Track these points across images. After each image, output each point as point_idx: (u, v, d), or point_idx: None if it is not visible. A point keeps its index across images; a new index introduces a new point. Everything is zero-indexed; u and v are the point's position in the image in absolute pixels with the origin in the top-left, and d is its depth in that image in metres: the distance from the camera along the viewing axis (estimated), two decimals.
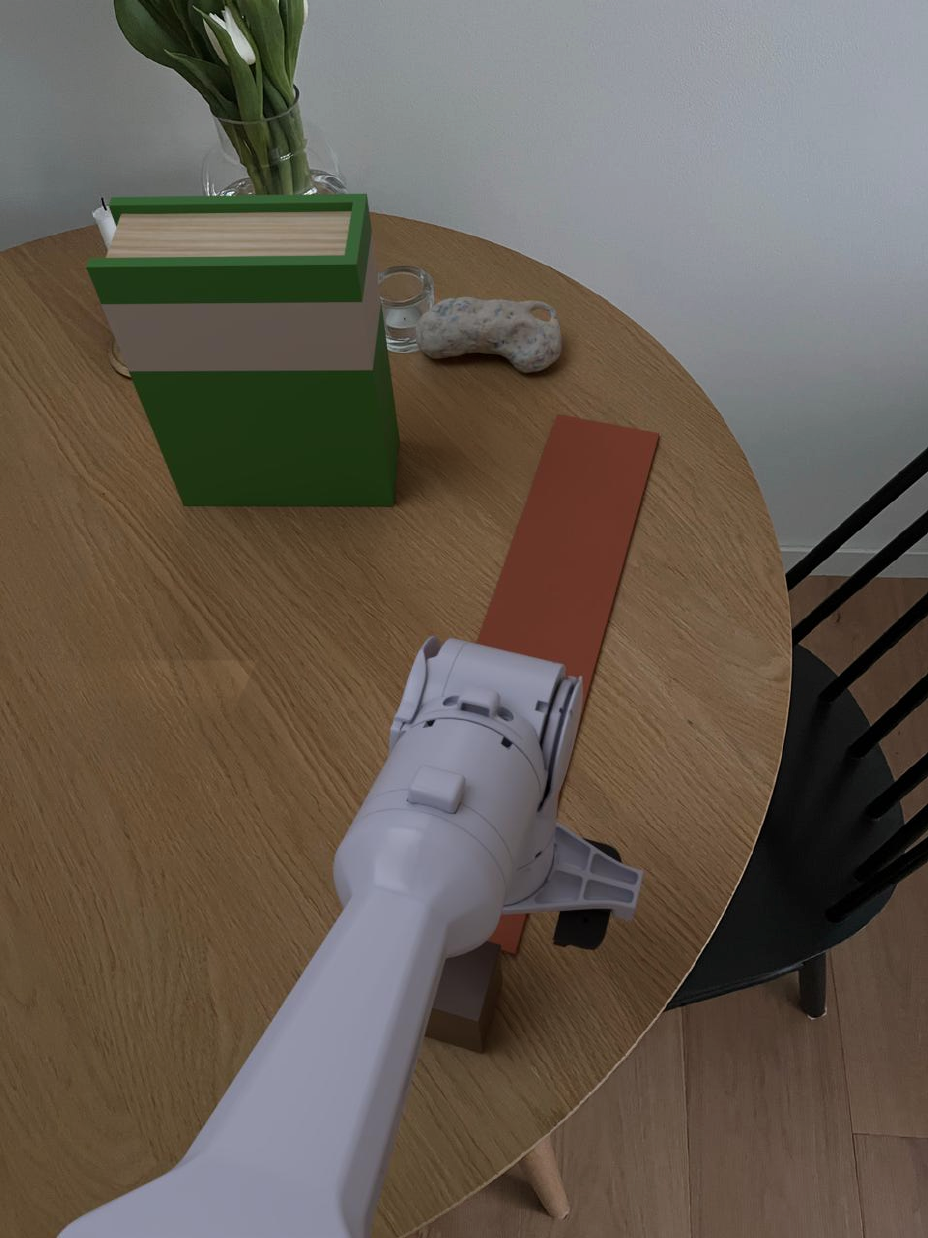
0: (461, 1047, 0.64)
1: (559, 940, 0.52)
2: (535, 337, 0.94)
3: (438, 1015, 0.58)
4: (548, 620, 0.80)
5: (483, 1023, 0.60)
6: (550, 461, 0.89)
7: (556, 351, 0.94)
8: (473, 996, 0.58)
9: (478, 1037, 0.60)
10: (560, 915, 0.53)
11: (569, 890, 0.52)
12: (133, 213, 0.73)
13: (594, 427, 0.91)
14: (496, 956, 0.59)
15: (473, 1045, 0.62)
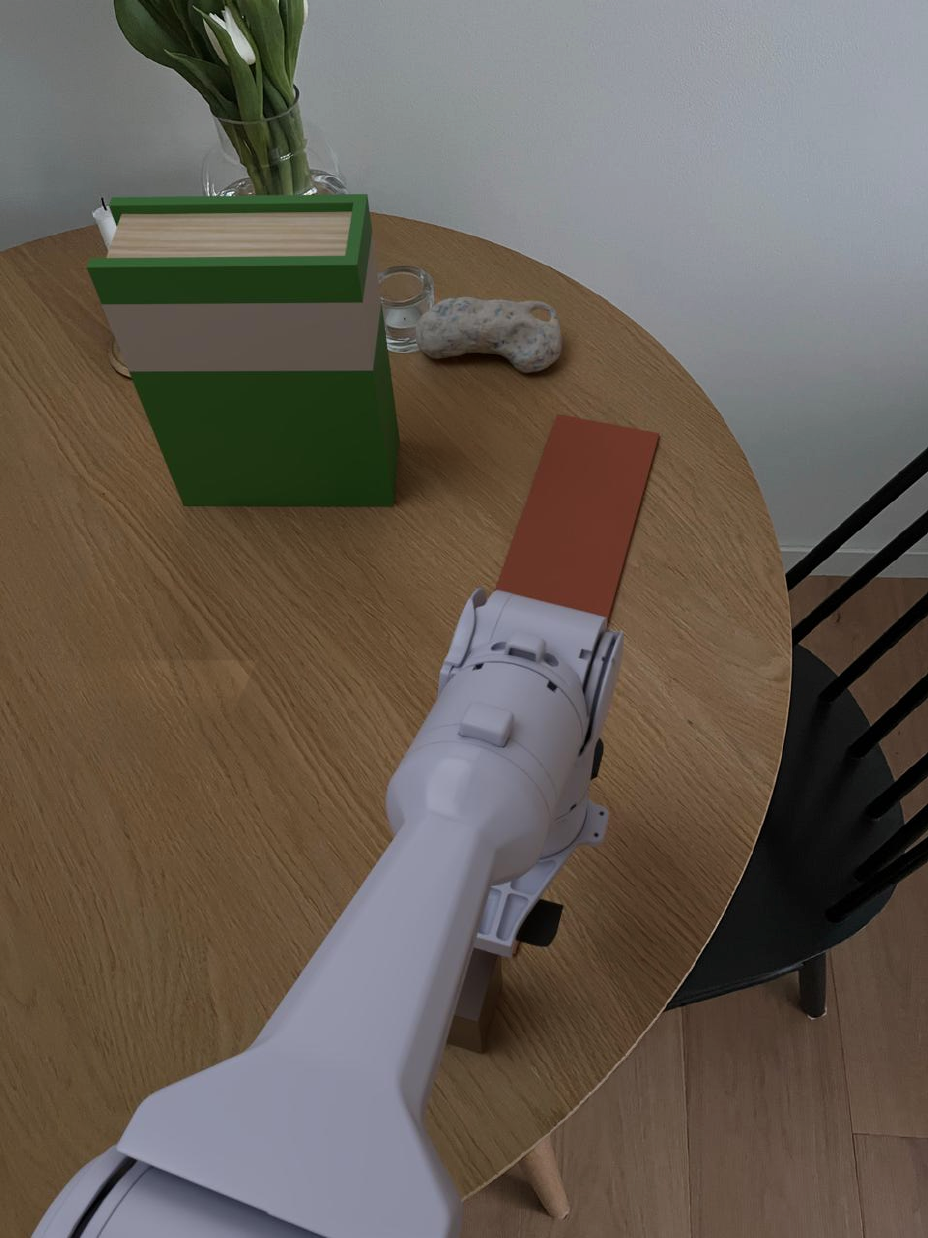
0: (461, 1047, 0.64)
1: None
2: (535, 337, 0.94)
3: None
4: None
5: (483, 1023, 0.60)
6: (550, 461, 0.89)
7: (556, 351, 0.94)
8: (473, 996, 0.58)
9: (478, 1037, 0.60)
10: None
11: None
12: (133, 213, 0.73)
13: (594, 427, 0.91)
14: (496, 956, 0.59)
15: (473, 1045, 0.62)
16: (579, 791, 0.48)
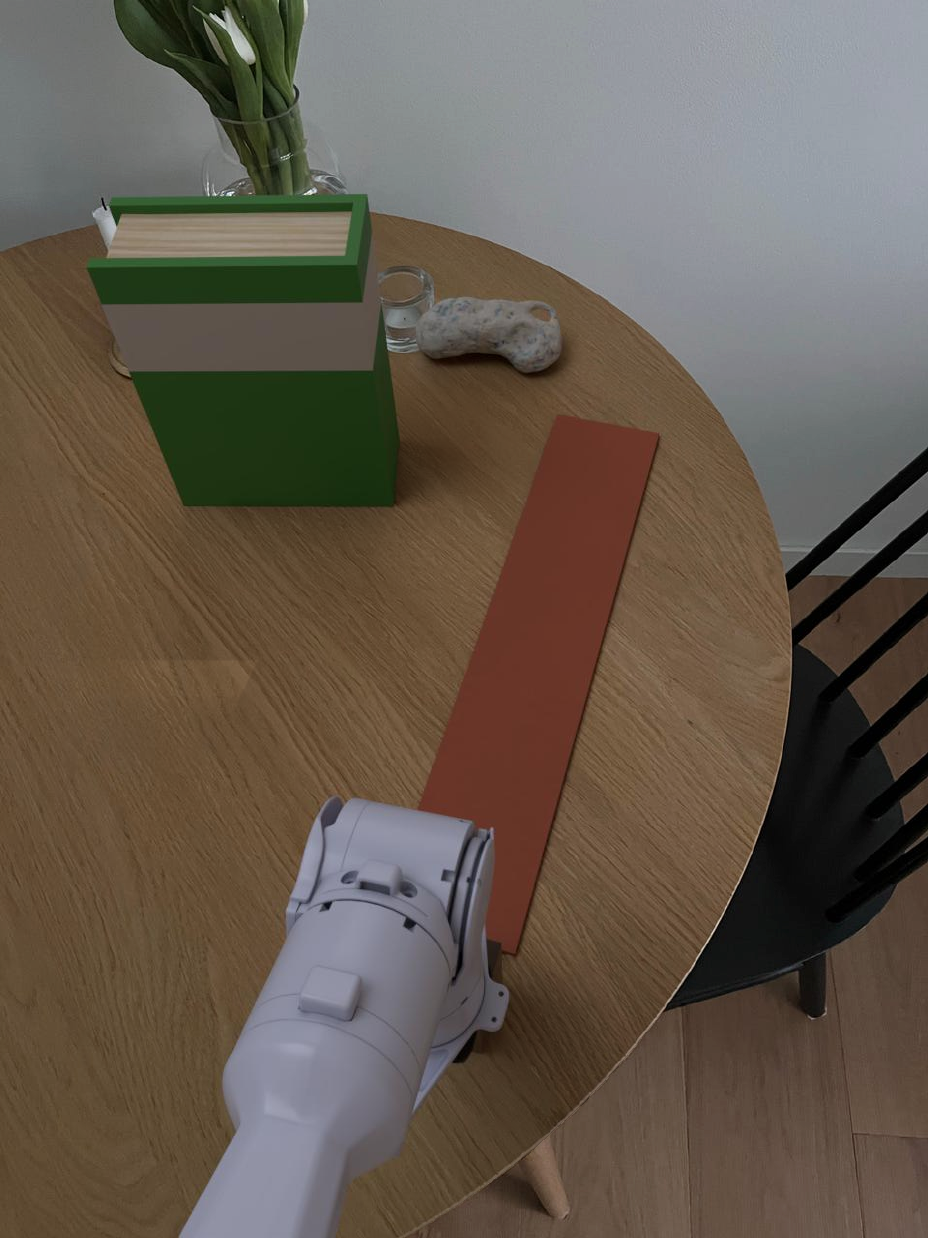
0: None
1: None
2: (535, 337, 0.94)
3: None
4: (548, 620, 0.80)
5: None
6: (550, 461, 0.89)
7: (556, 351, 0.94)
8: None
9: (478, 1036, 0.60)
10: None
11: None
12: (133, 213, 0.73)
13: (594, 427, 0.91)
14: (497, 954, 0.59)
15: None
16: (468, 987, 0.44)
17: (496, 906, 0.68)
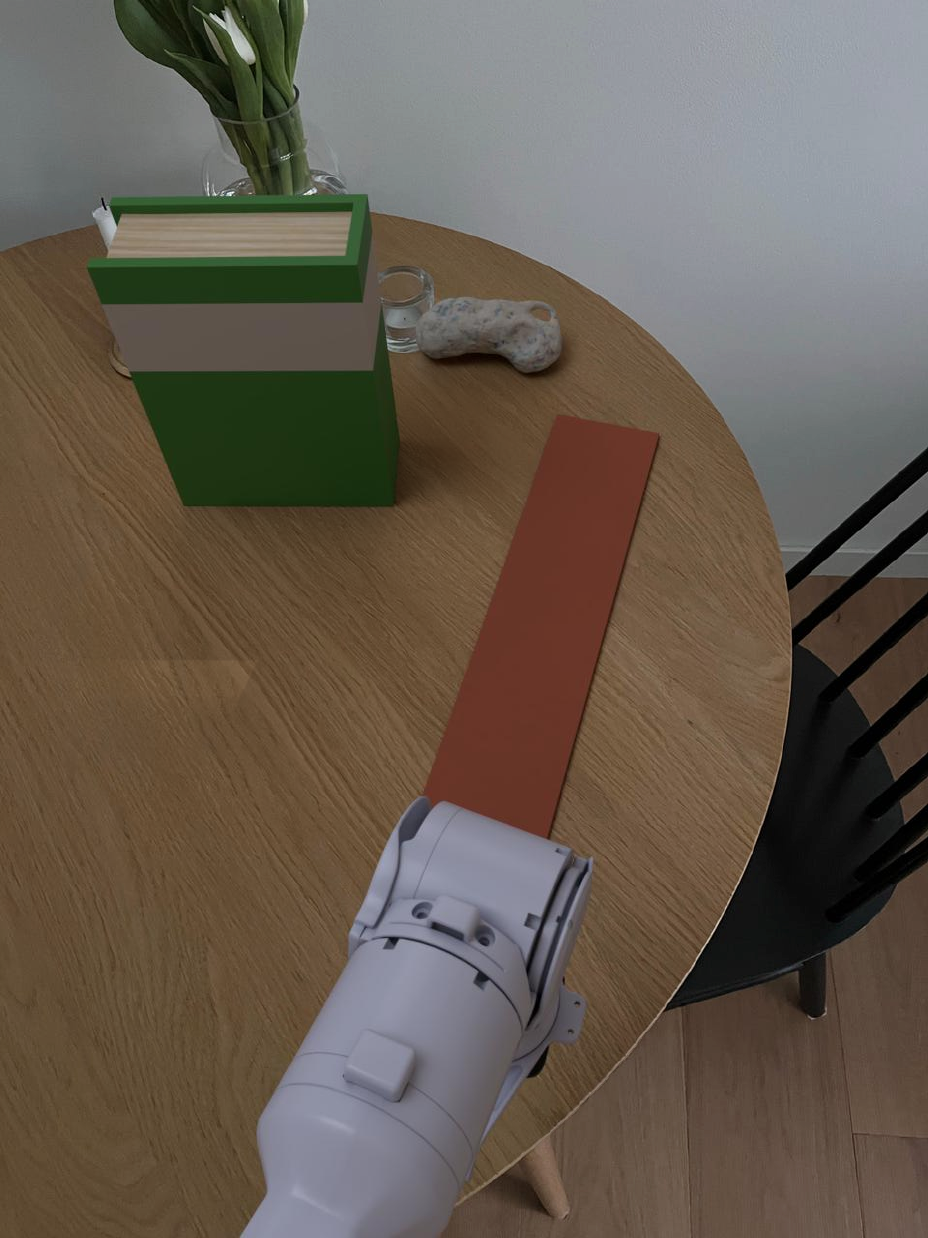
0: None
1: None
2: (535, 337, 0.94)
3: None
4: (548, 620, 0.80)
5: None
6: (550, 461, 0.89)
7: (556, 351, 0.94)
8: None
9: None
10: None
11: None
12: (134, 213, 0.73)
13: (594, 427, 0.91)
14: None
15: None
16: None
17: None
